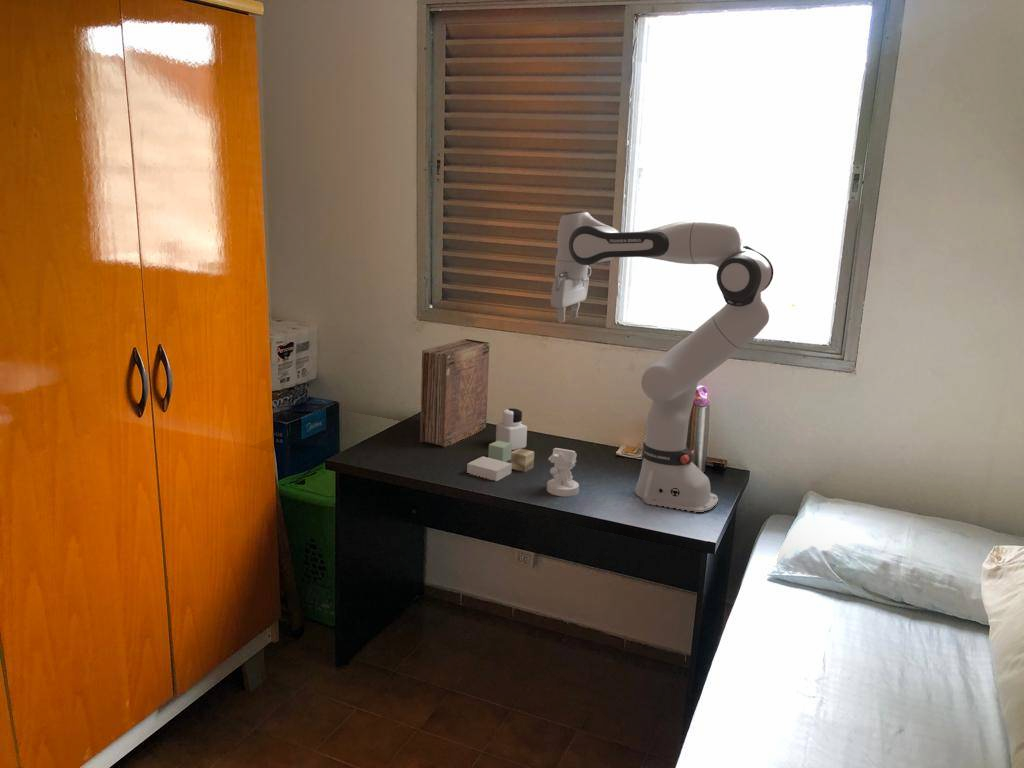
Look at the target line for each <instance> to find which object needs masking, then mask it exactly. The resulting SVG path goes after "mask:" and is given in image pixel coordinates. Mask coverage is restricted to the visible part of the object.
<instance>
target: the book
mask: <svg viewBox="0 0 1024 768" xmlns="http://www.w3.org/2000/svg"><path fill="white" fill-rule="evenodd" d="M421 355H422V356H421V383H420V384H421V385H420V386H421V387H420V421H419V422H420V424H419V425H420V426H419V427H420V428H419V429H420V430H419V433H420V434H419V443H420V442H423V441H424V442H423V443H429V444H433V445H436V446H441V447H442V448H443V447H444V448H443V449H446V448H445V447H447V446H449V445H451V446H452V444H453V445H455V444H457V443H459V442H458V441H460V440H462V439H464V440H466V439H468V438H470V437H472V435H473V436H475V435H477V434H479V433H481V432H483V431H485V430H487V416H488V415H487V414H488V413H487V411H488V389H489V388H488V387H489V368H490V367H489V365H490V364H489V363H490V362H489V361H490V360H489V359H490V342H486V341H481V340H480V341H479V340H473V339H467V338H463V339H461V340H460V339H459V340H456V341H452V342H450V343H445V344H441V345H437V346H433V347H430V348H425V349H422V353H421ZM484 429H485V430H484ZM482 430H483V431H482ZM480 431H481V432H480ZM478 432H479V433H478ZM476 433H477V434H476ZM474 434H475V435H474ZM469 436H470V437H469ZM467 437H468V438H467ZM465 438H466V439H465ZM462 441H463V440H462ZM456 442H457V443H456ZM460 442H461V441H460ZM454 443H455V444H454ZM449 447H450V446H449ZM447 448H448V447H447Z"/></svg>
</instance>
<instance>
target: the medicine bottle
mask: <svg viewBox="0 0 1024 768" xmlns="http://www.w3.org/2000/svg"><path fill="white" fill-rule="evenodd" d="M522 420H523V411H522V410H520V409H518V408H511V407H510V408H507V409H506V408H505V409H504V410H503V411H502V422H497V423H496V425H495V426H496V427H495V428H496V429H495V442H496V441H502V442H506V443H511V444H512V451H515V450H517V449H519V448H521V449H525V448H526V447H527V439H528V437H527V436H528V426H527V425H525V424H522Z"/></svg>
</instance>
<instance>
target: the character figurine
mask: <svg viewBox="0 0 1024 768" xmlns="http://www.w3.org/2000/svg"><path fill="white" fill-rule="evenodd" d="M577 456H578V455H577V453H576V451H575V450H571V449H565V448H559V447H555V448H552V454H551V455H550V456H549V457H548V459H547V460H548V461H550V463H551V464H554V465H553V467H551V468H550V469H549V473H550V475H552V479H549V480H547V483H546V491H547V493H549V494H551V495H553V496H557V497H574V496H576V495H578V494H579V491H580V484H579V483H578V482H577V481H576V480H573V477H574V476H573V475H572V472H571V470H572V469H573V468H575V467H576V463H577Z"/></svg>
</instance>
